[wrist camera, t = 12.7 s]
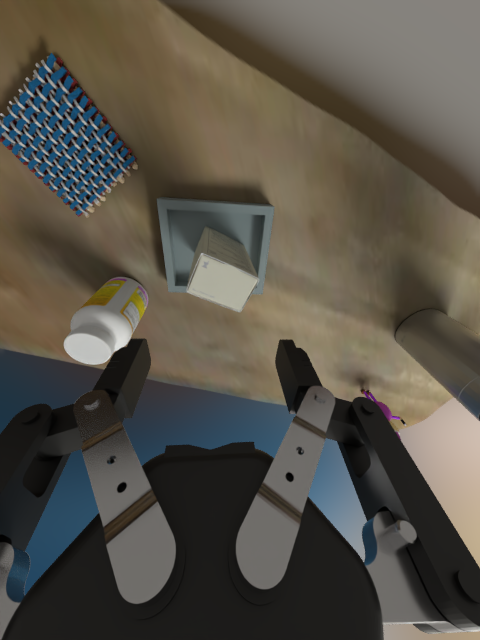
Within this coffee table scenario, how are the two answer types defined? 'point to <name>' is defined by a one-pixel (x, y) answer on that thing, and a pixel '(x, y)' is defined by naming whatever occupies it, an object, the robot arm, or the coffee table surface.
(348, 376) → the coffee table surface
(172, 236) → the tray
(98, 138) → the woven mat
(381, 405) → the wizard figurine
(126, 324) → the supplement bottle
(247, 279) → the skincare box
